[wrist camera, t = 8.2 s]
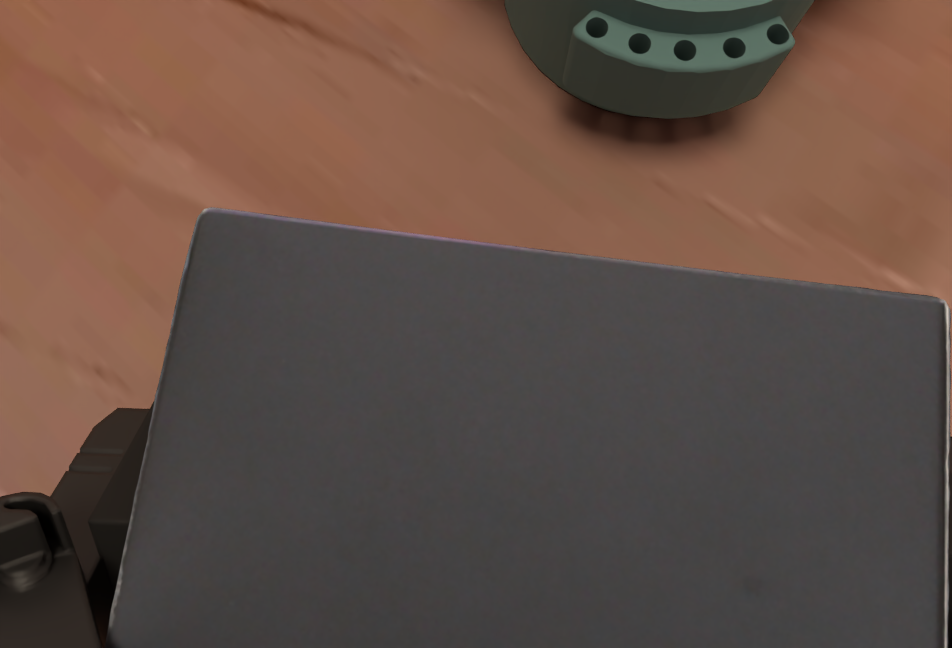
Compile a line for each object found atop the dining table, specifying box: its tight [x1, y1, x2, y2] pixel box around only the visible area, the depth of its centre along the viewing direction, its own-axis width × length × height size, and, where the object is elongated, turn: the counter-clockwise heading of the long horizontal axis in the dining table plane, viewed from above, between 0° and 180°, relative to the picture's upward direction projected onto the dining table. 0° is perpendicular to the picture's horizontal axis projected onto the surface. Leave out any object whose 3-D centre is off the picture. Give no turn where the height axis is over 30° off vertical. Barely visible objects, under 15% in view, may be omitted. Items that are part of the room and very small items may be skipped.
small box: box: [104, 207, 951, 648], centre depth 16 cm, size 11×6×10 cm, turn 83°
